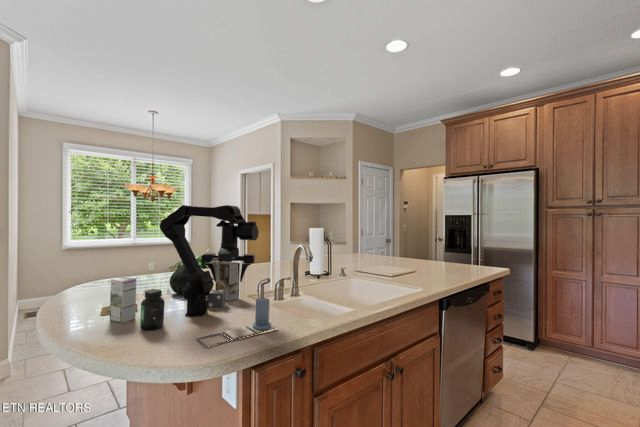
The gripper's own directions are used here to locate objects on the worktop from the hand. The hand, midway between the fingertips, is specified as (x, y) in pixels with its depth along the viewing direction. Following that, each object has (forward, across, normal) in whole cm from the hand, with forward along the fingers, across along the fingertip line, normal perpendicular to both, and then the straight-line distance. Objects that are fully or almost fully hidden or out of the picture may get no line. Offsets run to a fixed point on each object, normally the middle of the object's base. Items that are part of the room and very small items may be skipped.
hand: (228, 281), depth 118 cm
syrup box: (+13, -35, -3) cm, 38 cm away
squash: (+13, -25, +36) cm, 46 cm away
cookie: (+14, -42, +9) cm, 45 cm away
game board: (+13, +7, -18) cm, 23 cm away
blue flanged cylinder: (+12, +14, -13) cm, 23 cm away
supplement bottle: (+13, -22, -11) cm, 28 cm away
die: (+13, -7, +14) cm, 20 cm away
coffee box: (+13, -5, +27) cm, 30 cm away
